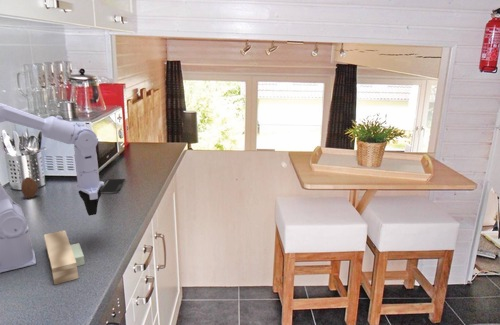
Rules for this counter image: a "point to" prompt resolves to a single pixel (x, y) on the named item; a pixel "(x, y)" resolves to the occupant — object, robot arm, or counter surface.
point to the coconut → (29, 187)
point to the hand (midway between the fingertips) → (92, 214)
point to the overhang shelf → (61, 257)
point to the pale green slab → (78, 254)
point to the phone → (112, 186)
